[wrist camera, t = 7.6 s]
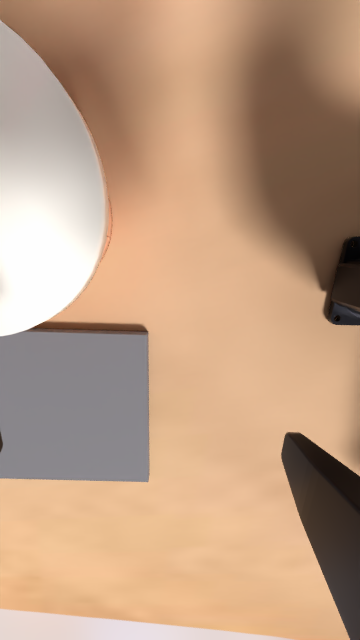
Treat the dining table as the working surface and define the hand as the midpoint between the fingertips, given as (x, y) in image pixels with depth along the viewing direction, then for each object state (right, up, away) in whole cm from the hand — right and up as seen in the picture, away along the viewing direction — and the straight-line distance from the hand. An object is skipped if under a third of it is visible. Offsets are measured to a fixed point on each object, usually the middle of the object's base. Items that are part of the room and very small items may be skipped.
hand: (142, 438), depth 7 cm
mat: (-9, -4, +14) cm, 17 cm away
